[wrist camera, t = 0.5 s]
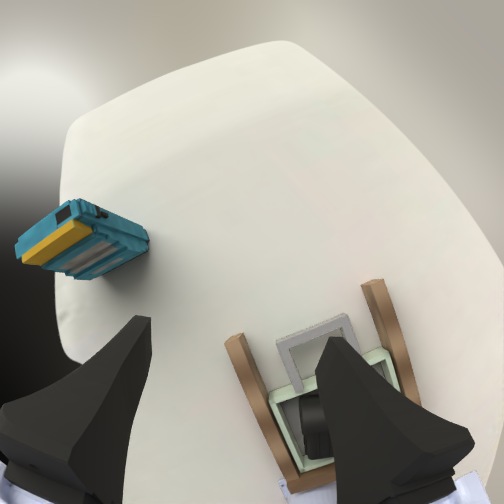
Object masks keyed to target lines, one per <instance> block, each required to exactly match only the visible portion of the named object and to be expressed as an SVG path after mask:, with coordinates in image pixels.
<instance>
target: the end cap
mask: <svg viewBox="0 0 504 504" xmlns="http://www.w3.org/2000/svg"><path fill="white" fill-rule="evenodd" d="M299 412H300V420H301V428H302V434H303V436H304V445H305V454H306V455H308V459H310V460H317V459H325V458H331V457H334V455H333V448H332V442H331V437H330V433H329V429H328V426H327V422H326V419H325V415H324V412H323V408H322V405H321V401H320V398H319V394H317V395H309V396H301V397H300V398H299Z"/></svg>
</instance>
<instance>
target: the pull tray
mask: <svg viewBox="0 0 504 504" xmlns="http://www.w3.org/2000/svg"><path fill="white" fill-rule="evenodd" d="M338 328H340V330H341V333H342V336H343V338H344V339H345V340H346V341H347V342H348V343H349V344H350V345H351V346H352V347H353V348H354V349H355V350H356V351H357V352H358V353H359V354H360V355H361V356H362V357H363V358H364V359H365V360H366V361H367V363H368V364H369V365H370V366H371V365H373V364H375V363H377V362H381V365H382V369H383V372H384V375H385V378H386V381H387V382H388V383H390V384H391V385H392V386H393V387H394V388H395V389H397V390H398V391H399V392H401V391H400V388H399V384H398V381H397V377H396V374H395V370H394V367H393V364H392V360H391V357H390V354H389V351H387V350H385V349H384V348H382V347H379V348H377V349H374V350H372V351H370V352H368V353H366V354H364V355H362V354H361V351H360V348H359V345H358V342H357V339H356V337H355V334H354V331H353V328H352V325H351V323H350V320H349V317H348V314H345V313H342V314H340V315H337V316H335V317H333V318H330V319H328V320H326V321H323V322H321V323H318V324H316V325H313V326H311V327H309V328H306V329H304V330H301V331H299V332H296V333H293V334H291V335H288V336H286V337H283V338H281V339H278V340H276V345H277V348H278V350H279V353H280V355H281V358H282V360H283V363H284V366H285V368H286V371H287V373H288V376H289V378H290V381H291V383H292V384H291V385H288V386H285V387H282V388H279V389H276V390H273V391H270V392H269V400H268V401H269V403H270V406H271V408H272V410H273V413H274V415H275V417H276V419H277V422H278V424H279V426H280V429H281V431H282V433H283V435H284V438H285V440H286V442H287V444H288V446H289V449H290V451H291V453H292V455H293V457H294V460H295V462H296V464H297V466H298V468H299V470H300V473H302V472H306V471H309V470H312V469H315V468H318V467H321V466H324V465H327V464H330V463H333V462H334V457H331V458H325V459H317V460H310V459H308V455H305V456H302V454H301V451H300V449H299V447H298V445H297V442H296V440H295V438H294V435H293V433H292V431H291V428H290V426H289V424H288V421H287V419H286V417H285V414H284V412H283V410H282V407H281V405H280V403H279V402H282V401H285V400H288V399H291V398H293V397H296V396H299V395H302V394H304V393H307V392H310V391H312V390H315V389H317V383H316V375H314V376H312V377H309V378H307V379H304V380H301V377H300V375H299V372H298V370H297V367H296V365H295V362H294V360H293V357H292V354H291V352H290V349H289V348H292V347H294V346H297V345H299V344H302V343H305V342H307V341H310V340H312V339H315V338H317V337H319V336H322V335H324V334H327V333H329V332H331V331H334V330H336V329H338Z"/></svg>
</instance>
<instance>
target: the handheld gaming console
mask: <svg viewBox="0 0 504 504" xmlns="http://www.w3.org/2000/svg"><path fill="white" fill-rule="evenodd" d="M18 240H19V242H18V243H17V244H16V245H15V250H16V256H17V259H19V260H22V262H23V263H25V264H33V265H40V267H43V269H47V270H54V272H62V273H65V275H66V276H73V277H74V279H77V280H91V279H93V278H96V277H98V276H100V275H103V274H105V273H107V272H109V271H110V270H112V269H114V268H116V267H118V266H120V265H122V264H124V263H125V262H127V261H129V260H131V259H133V258H135V257H137V256H139V255H141V254H143V253H145V252H147V250H149V249H148V246H147V243H146V242H148V241H149V238H148V235H147V232H146V230H145V229H143V227H142V226H141V225H138V224H136V223H134V222H132V221H129V220H127V219H125V218H123V217H120V216H118V215H116V214H114V213H111V212H109V211H107V210H105V209H103V208H100V207H99V206H96V205H94V204H91V203H90V202H87V201H85V200H83V199H80V198H79V199H77V200H75V199H73V200H72V201H69V200H68V201H67V202H65V203H64V204H62V205H61V206H60V207H58V208H57V209H55V210H54V211H53V212H51V213H50V214H49V215H47V216H46V217H45V218H43V219H42V220H41V221H39V222H38V223H37V224H35V225H34V226H33V227H32V228H30V229H29V230H28V231H27V232H25V233H24V234H23V235H22V236H21V237H19V238H18Z"/></svg>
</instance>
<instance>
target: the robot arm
mask: <svg viewBox="0 0 504 504" xmlns="http://www.w3.org/2000/svg"><path fill="white" fill-rule="evenodd" d="M151 357H152V345H151V318H150V317H144V316H138V315H135V316H134V317H133V318H132V319H131V320H130V321H129V322H128V323H127V324H126V325H125V326H124V327H123V328H122V329H121V330H120V332H119V333H118V334H117V335H116V336H115V337H114V338H112V339H111V340H110V341H109V342H108V343H107V344H106V345H105V346H104V347H103V348H102V349H101V350H100V351H98V352H97V353H96V354H95V355H94V356H93V357H91V358H90V359H89V360H88V361H87V362H85V363H84V364H83V365H81V366H80V367H79V368H77V369H76V370H74V371H73V372H72V373H70V374H69V375H67V376H65V377H64V378H62V379H61V380H59V381H57V382H55V383H54V384H52V385H50V386H49V387H46V388H44V389H42V390H40V391H38V392H36V393H33V394H31V395H29V396H26V397H23V398H20V399H17V400H14V401H12V402H9V403H6V404H4V405H3V406H2V408H1V410H0V450H1V451H2V452H3V454H4V455H5V456H6V457H7V458H8V459H9V463H8V466H6V465H4V464H3V463H2V462H0V504H122V499H123V485H124V475H125V466H126V459H127V451H128V445H129V439H130V433H131V428H132V424H133V420H134V417H135V414H136V411H137V407H138V404H139V401H140V398H141V395H142V392H143V389H144V386H145V383H146V380H147V377H148V372H149V367H150V362H151ZM315 375H316V383H317V389H318V394H319V398H320V401H321V405H322V408H323V412H324V415H325V419H326V422H327V426H328V429H329V433H330V437H331V442H332V448H333V455H334V463H335V473H336V481H334V482H331V483H328V484H325V485H322V486H319V487H316V488H313V489H309V490H306V491H302V492H299V493H295V494H292V495H291V494H290V492H289V490H288V488H287V482H286V480H285V479H282V480H279V482H278V484H279V486H280V488H281V490H282V492H283V494H284V496H285V497H286V499H287V501H288V504H491V502H490V500H489V498H488V495H487V493H486V491H485V488H484V486H483V484H482V482H481V480H480V477H479V475H478V473H477V471H476V470H474V471H472V472H470V473H468V474H466V475H464V476H462V477H460V478H458V479H456V480H455V481H453V479H452V477H451V476H453V475H454V474H455V471H454V469H453V467H454V466H455V465H456V464H457V463H459V462H460V461H461V460H462V459H463V458H464V457H465V456H467V455H468V454H469V453H470V452H471V450H472V449H473V448H474V445H475V442H474V440H473V438H472V436H471V434H470V432H469V430H468V429H467V428H465V427H462V426H460V425H457V424H455V423H452V422H449V421H447V420H445V419H443V418H441V417H439V416H437V415H435V414H433V413H431V412H429V411H427V410H426V409H424V408H422V407H421V406H419V405H417V404H416V403H414V402H413V401H411V400H410V399H409V398H407V397H406V396H405V395H403V394H402V393H401V392H399V391H398V390H397V389H395V388H394V387H393V386H392V385H391V384H390V383H388V382H387V381H386V380H385V379H384V378H383V377H382V376H381V375H380V374H379V373H378V372H377V371H376V370H374V369H373V368H372V367H371V366H370V365H369V364H368V363H367V361H366V360H365V359H364V358H363V357H362V356H361V355H360V354H359V353H358V352H357V351H356V350H355V349H354V348H353V347H352V346H351V345H350V344H349V343H348V342H347V341H346V340H345V339H344V338H343V337H329V339H328V342H327V344H326V346H325V349H324V351H323V354H322V356H321V358H320V360H319V363H318V365H317V367H316V370H315ZM282 485H284V486H282Z"/></svg>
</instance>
